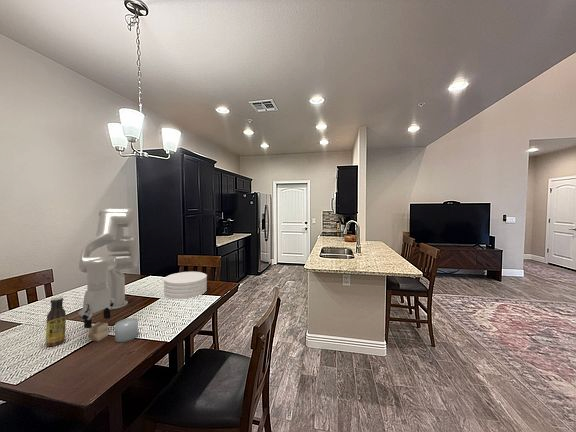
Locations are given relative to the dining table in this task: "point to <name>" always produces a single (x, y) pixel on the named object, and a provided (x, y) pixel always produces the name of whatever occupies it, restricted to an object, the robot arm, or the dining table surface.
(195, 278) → the plate stack
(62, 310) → the sauce bottle
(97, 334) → the maple block
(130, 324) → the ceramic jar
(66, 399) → the dining table surface
